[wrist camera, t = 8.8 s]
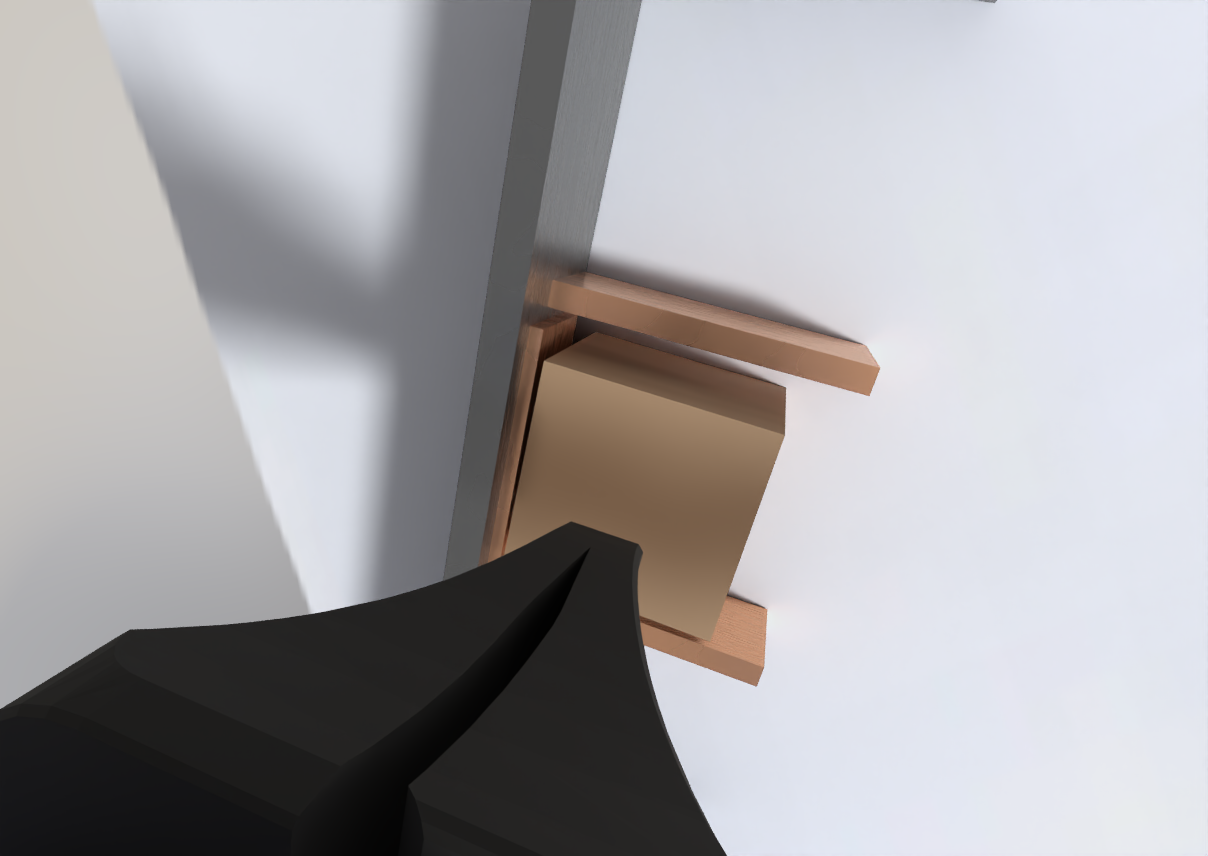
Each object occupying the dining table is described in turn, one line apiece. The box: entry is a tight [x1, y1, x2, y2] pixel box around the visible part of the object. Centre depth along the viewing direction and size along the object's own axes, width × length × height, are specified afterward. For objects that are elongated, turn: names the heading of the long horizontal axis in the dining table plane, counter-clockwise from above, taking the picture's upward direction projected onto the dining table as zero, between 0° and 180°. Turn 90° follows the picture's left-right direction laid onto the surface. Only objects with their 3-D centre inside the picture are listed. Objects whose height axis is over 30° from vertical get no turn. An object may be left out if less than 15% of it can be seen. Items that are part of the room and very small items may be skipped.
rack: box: [443, 0, 997, 686], centre depth 15 cm, size 23×8×4 cm, turn 167°
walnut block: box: [504, 332, 786, 642], centre depth 15 cm, size 5×5×4 cm
